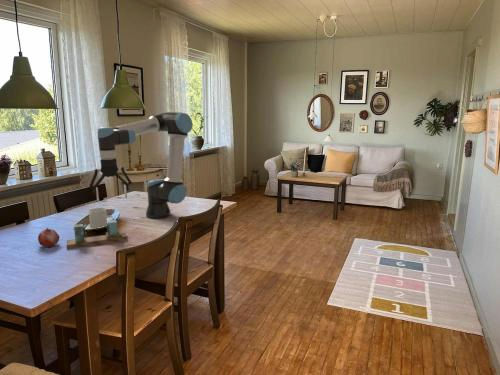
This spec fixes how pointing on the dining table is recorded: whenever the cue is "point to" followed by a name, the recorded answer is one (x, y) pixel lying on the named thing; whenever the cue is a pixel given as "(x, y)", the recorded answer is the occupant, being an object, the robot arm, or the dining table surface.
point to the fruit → (48, 238)
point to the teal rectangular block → (112, 227)
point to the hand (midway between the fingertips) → (112, 199)
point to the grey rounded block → (97, 217)
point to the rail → (92, 238)
